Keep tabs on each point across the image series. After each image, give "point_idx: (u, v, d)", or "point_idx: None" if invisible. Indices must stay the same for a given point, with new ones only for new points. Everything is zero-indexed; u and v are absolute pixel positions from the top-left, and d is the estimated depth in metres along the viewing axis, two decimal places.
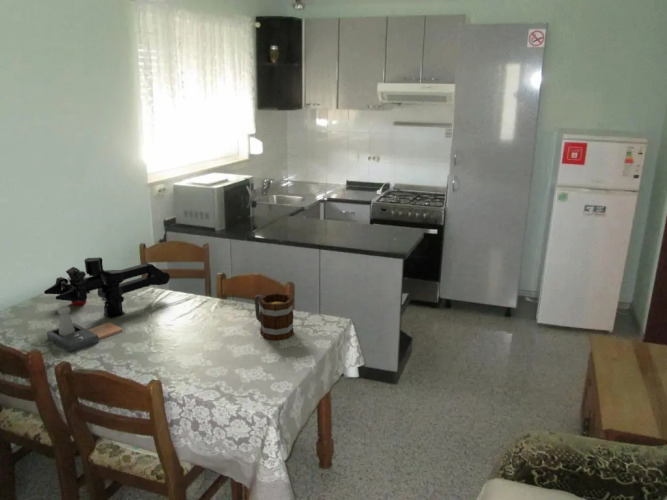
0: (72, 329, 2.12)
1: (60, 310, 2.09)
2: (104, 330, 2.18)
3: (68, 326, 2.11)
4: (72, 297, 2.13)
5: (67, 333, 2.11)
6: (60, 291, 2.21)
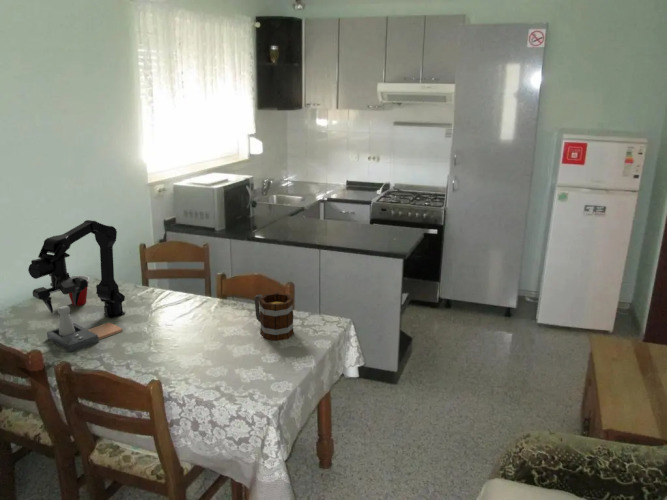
0: (72, 329, 2.12)
1: (60, 310, 2.09)
2: (104, 330, 2.18)
3: (68, 325, 2.11)
4: None
5: (67, 333, 2.11)
6: None
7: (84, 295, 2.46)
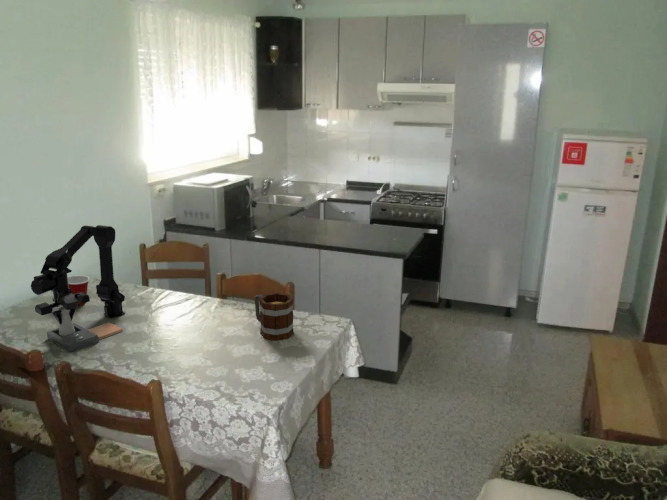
0: (72, 329, 2.12)
1: (60, 310, 2.09)
2: (104, 330, 2.18)
3: (68, 325, 2.11)
4: None
5: (67, 333, 2.11)
6: None
7: None
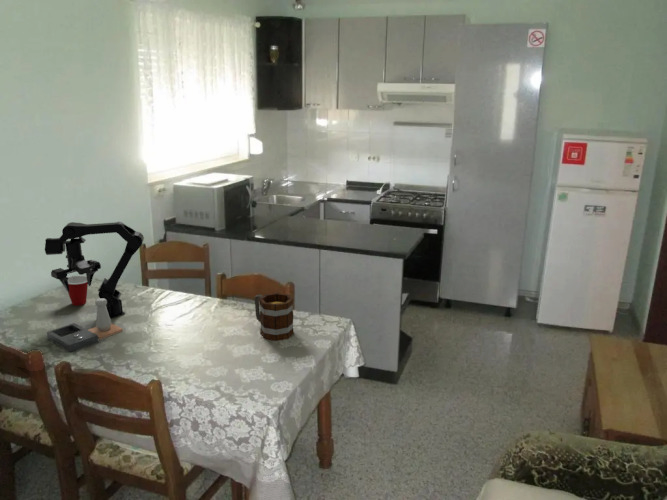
0: (109, 321, 2.17)
1: (98, 302, 2.14)
2: None
3: (105, 317, 2.16)
4: None
5: (104, 325, 2.16)
6: None
7: (84, 295, 2.46)
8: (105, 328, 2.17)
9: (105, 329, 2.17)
